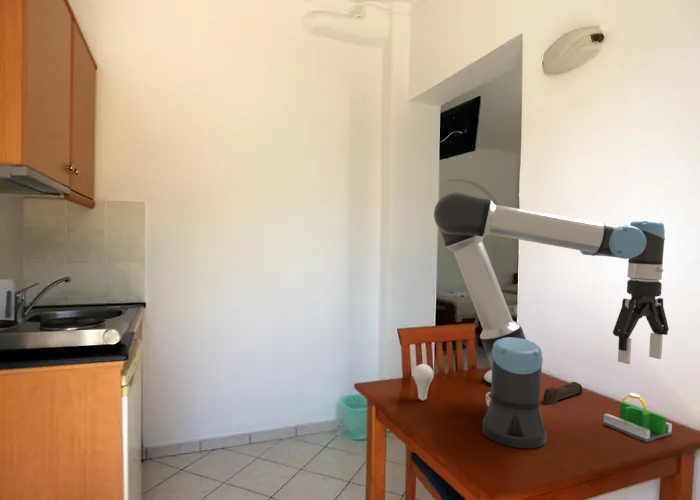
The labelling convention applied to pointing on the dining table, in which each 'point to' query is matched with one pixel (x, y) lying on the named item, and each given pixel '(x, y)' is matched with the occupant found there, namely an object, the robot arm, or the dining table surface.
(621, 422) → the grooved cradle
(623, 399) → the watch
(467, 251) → the robot arm
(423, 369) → the lightbulb
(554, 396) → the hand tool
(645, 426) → the pipe clamp
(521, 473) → the dining table surface
